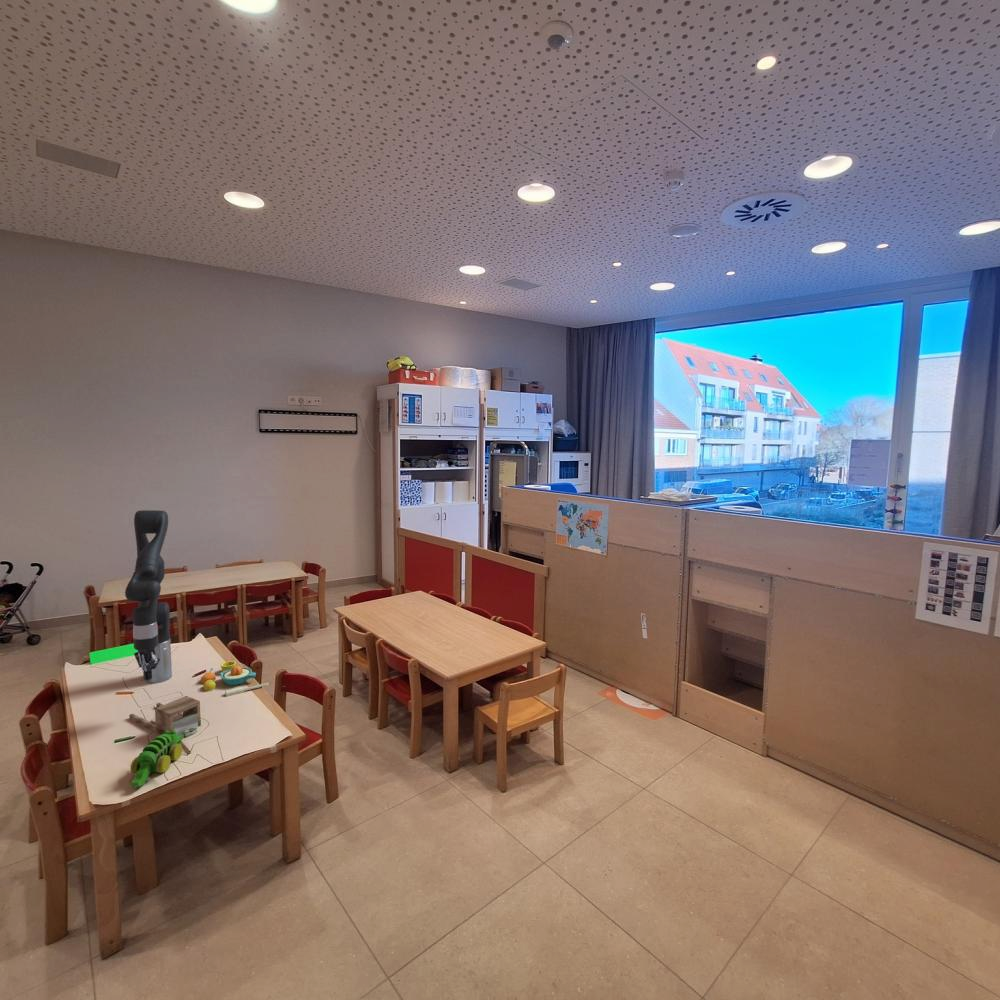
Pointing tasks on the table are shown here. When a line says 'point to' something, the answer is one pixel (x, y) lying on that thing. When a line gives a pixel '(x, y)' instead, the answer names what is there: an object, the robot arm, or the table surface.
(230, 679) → the toy juicer set
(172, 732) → the toy alligator
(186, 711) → the wooden crate
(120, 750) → the table surface
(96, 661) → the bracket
